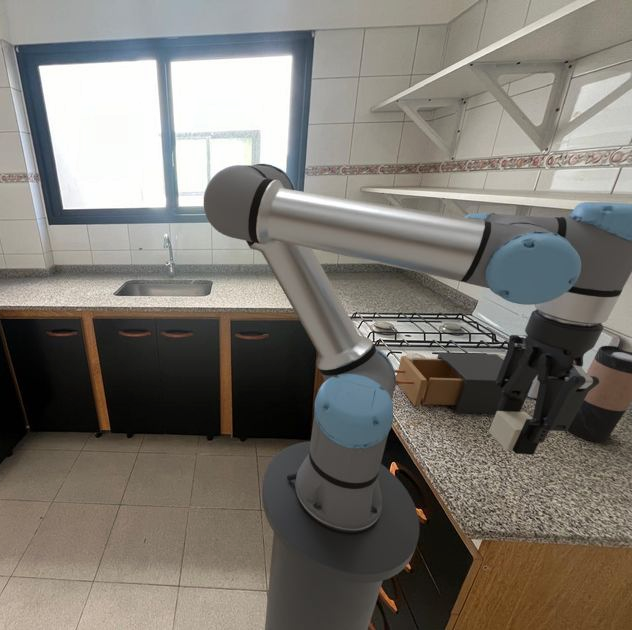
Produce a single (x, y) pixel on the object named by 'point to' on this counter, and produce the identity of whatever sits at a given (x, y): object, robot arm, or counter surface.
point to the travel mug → (605, 395)
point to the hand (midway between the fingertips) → (511, 440)
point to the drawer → (428, 381)
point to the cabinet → (477, 381)
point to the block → (508, 428)
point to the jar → (534, 389)
